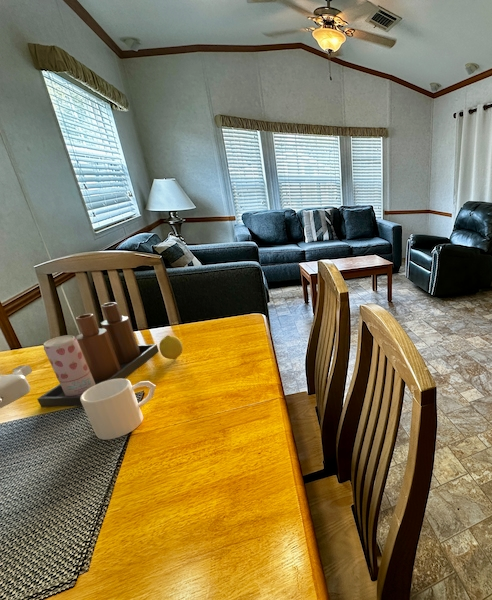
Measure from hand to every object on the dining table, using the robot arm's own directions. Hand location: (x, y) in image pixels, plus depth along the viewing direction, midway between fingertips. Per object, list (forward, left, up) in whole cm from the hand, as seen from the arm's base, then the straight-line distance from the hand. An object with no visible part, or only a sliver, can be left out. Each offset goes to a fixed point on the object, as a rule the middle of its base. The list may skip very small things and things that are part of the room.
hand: (2, 368), depth 65 cm
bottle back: (+7, +27, -16) cm, 32 cm away
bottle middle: (+5, +19, -16) cm, 25 cm away
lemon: (+20, +23, -16) cm, 35 cm away
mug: (+19, -4, -16) cm, 25 cm away
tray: (+5, +19, -16) cm, 25 cm away
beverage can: (+3, +12, -15) cm, 19 cm away
